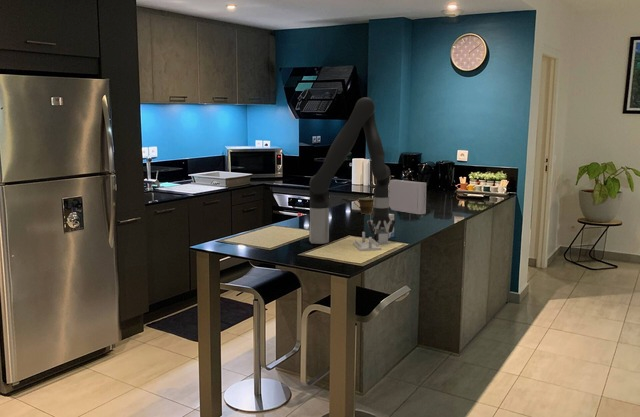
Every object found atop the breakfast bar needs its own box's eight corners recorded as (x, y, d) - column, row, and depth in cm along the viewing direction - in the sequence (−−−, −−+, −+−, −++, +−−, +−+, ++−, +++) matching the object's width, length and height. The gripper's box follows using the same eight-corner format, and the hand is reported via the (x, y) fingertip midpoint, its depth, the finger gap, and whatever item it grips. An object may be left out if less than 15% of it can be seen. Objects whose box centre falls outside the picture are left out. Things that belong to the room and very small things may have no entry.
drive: (378, 245, 272) (378, 232, 271) (373, 241, 281) (373, 229, 280) (387, 244, 273) (388, 232, 272) (382, 240, 282) (382, 228, 281)
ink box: (386, 235, 295) (386, 213, 293) (394, 236, 291) (394, 214, 290) (377, 238, 288) (377, 215, 286) (385, 239, 285) (385, 216, 283)
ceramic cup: (373, 212, 368) (373, 197, 367) (375, 215, 358) (375, 199, 357) (353, 213, 368) (353, 197, 366) (354, 215, 358) (354, 199, 356)
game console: (419, 214, 361) (420, 183, 358) (388, 209, 382) (389, 180, 379) (425, 213, 364) (426, 182, 361) (394, 208, 385) (395, 179, 382)
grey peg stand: (359, 250, 260) (360, 237, 259) (353, 244, 274) (353, 232, 273) (381, 249, 262) (381, 237, 261) (373, 243, 275) (373, 231, 274)
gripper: (368, 207, 270) (368, 243, 272) (397, 207, 272) (397, 242, 274) (364, 205, 277) (364, 240, 279) (393, 204, 279) (392, 239, 282)
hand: (380, 241), depth 277 cm, fingers closed on drive, 4 cm apart
